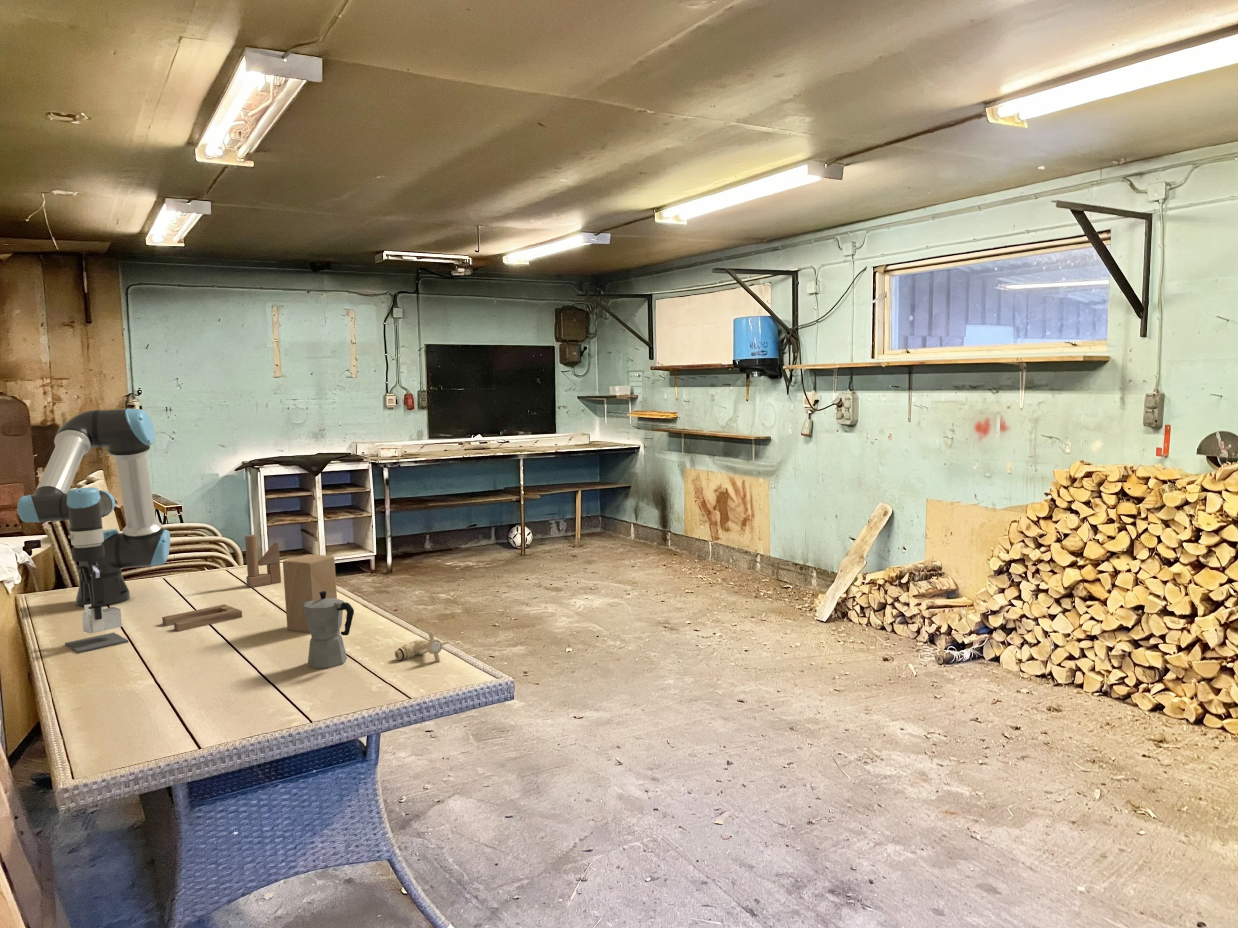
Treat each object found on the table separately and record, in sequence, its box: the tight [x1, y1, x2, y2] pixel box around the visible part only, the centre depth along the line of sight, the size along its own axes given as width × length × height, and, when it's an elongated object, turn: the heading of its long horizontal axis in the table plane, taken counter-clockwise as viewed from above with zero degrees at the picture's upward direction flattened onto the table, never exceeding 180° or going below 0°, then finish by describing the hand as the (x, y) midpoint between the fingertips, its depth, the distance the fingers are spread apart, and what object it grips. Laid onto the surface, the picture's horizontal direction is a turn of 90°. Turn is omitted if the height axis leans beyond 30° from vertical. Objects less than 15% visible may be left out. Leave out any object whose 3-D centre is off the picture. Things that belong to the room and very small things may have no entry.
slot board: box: [161, 604, 243, 632], centre depth 251 cm, size 13×18×2 cm
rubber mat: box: [64, 632, 129, 654], centre depth 230 cm, size 12×12×1 cm
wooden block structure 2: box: [244, 534, 282, 589], centre depth 296 cm, size 4×11×18 cm, turn 132°
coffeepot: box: [302, 591, 355, 670], centre depth 207 cm, size 15×9×18 cm, turn 68°
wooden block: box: [282, 553, 338, 634], centre depth 239 cm, size 10×10×20 cm
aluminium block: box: [81, 606, 123, 635], centre depth 231 cm, size 4×8×5 cm, turn 142°
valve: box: [394, 631, 449, 663], centre depth 209 cm, size 8×12×10 cm
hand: (95, 628), depth 230 cm, fingers closed on aluminium block, 5 cm apart
